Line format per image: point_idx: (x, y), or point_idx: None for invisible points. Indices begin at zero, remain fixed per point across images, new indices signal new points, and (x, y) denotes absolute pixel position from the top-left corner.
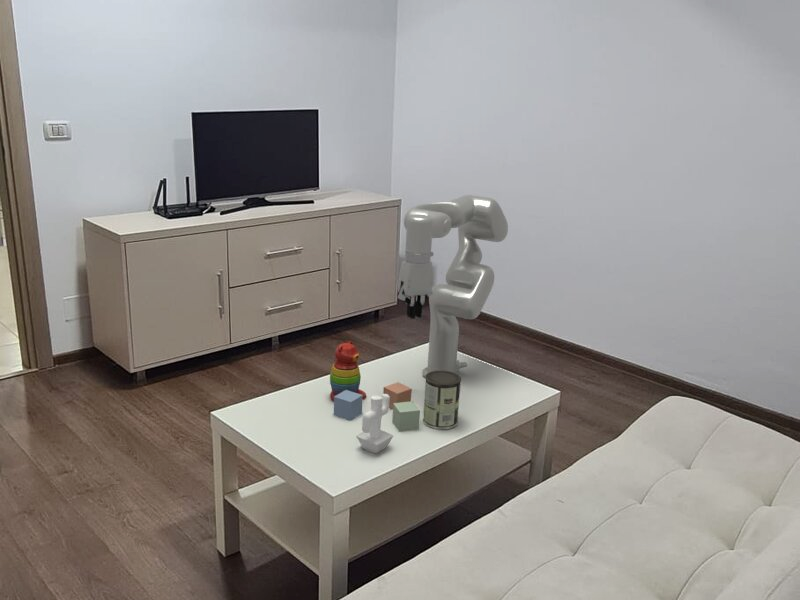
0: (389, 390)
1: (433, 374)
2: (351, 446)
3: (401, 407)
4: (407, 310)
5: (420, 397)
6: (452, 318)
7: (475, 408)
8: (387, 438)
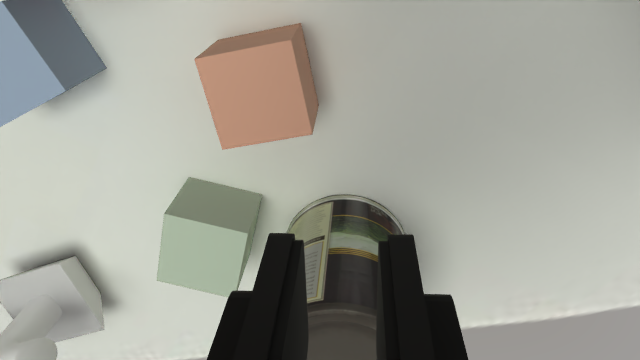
0: (207, 98)
1: (321, 332)
2: (3, 246)
3: (179, 254)
4: (221, 332)
5: (408, 52)
6: None
7: (531, 229)
8: (78, 334)
